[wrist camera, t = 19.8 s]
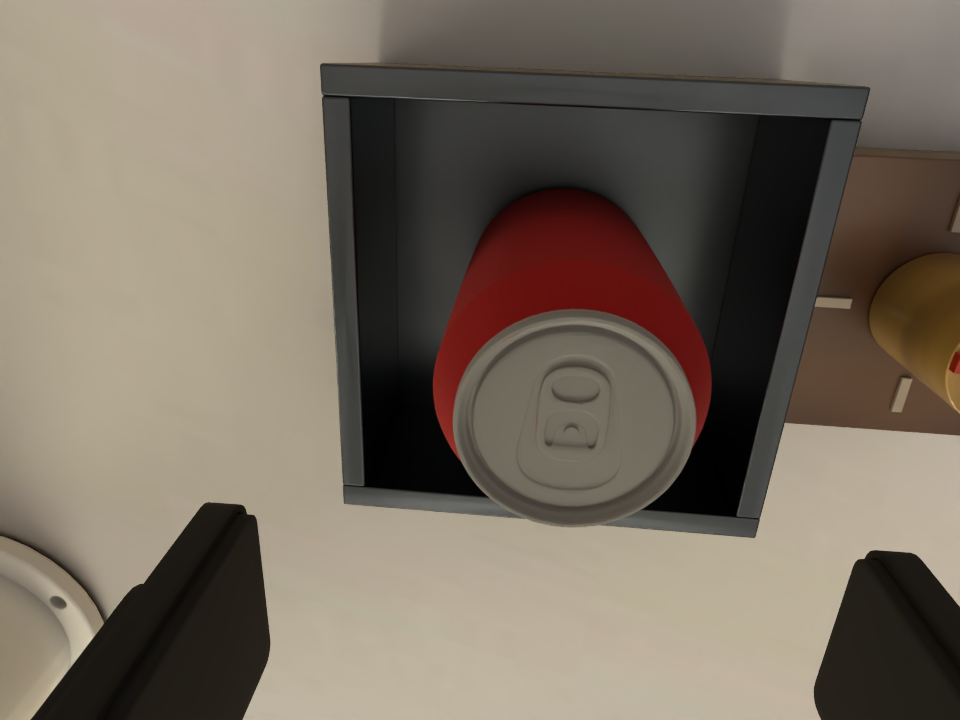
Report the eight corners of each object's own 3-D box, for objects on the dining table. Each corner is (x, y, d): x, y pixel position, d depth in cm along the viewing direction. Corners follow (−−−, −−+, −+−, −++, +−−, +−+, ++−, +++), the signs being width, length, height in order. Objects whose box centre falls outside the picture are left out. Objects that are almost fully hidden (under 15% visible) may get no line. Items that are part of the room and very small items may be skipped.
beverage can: (469, 348, 27) (420, 540, 16) (473, 178, 25) (419, 273, 14) (637, 359, 27) (702, 563, 16) (661, 187, 24) (760, 292, 13)
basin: (708, 433, 29) (755, 538, 23) (385, 410, 30) (343, 504, 24) (781, 79, 23) (872, 86, 17) (377, 62, 24) (319, 63, 18)
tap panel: (961, 407, 28) (1002, 441, 25) (736, 392, 28) (755, 423, 26) (1056, 156, 24) (1115, 167, 21) (791, 143, 24) (819, 153, 22)
